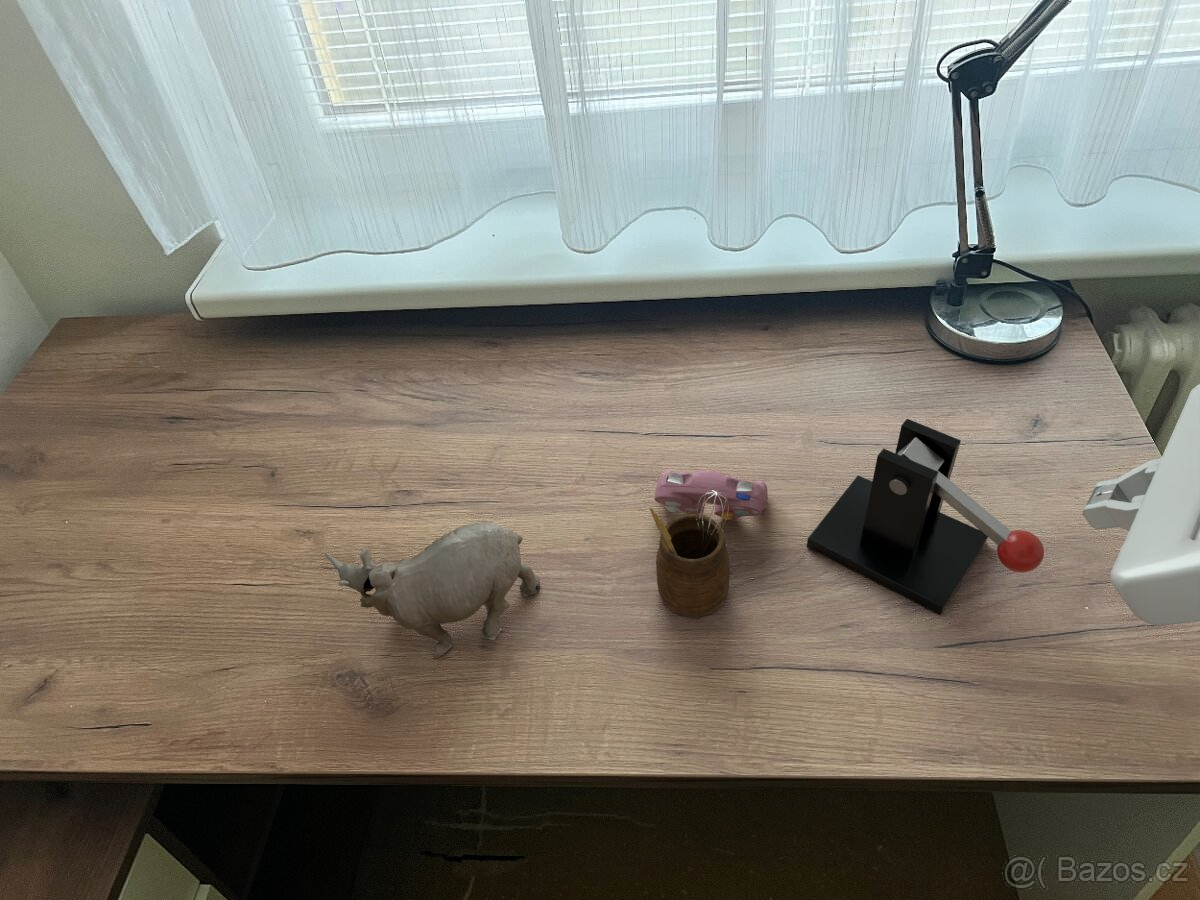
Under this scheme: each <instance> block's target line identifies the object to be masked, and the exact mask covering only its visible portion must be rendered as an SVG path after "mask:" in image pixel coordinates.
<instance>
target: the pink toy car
mask: <svg viewBox="0 0 1200 900" xmlns="http://www.w3.org/2000/svg"><path fill="white" fill-rule="evenodd" d="M708 490H710V491H708ZM711 490H713V491H711ZM717 490H718V491H717ZM707 491H708V492H707ZM714 491H715V492H717V493H718V494H720V495H717V496H716V494H715V495H714V493H715V492H714ZM706 492H707V493H709V494H706ZM720 492H722V493H720ZM723 493H724V494H725V495H726V497H725V495H724V494H723ZM704 494H706V497H705V495H704ZM703 495H704V496H703ZM712 495H713V496H712ZM721 495H722V496H721ZM702 496H703V497H702ZM710 496H711V497H710ZM715 496H716V500H715ZM718 496H719V497H720V498H719V497H718ZM723 496H724V497H725V498H726V499H727V501H728V503H727V501H726V503H725V500H726V499H725V498H724V497H723ZM701 497H702V498H701ZM709 497H710V498H709ZM700 498H701V499H700ZM704 498H705V501H706V500H707V499H708V498H709V499H708V500H707V501H706V502H705V501H704ZM720 499H721V501H722V503H721V501H720ZM699 500H700V502H699ZM714 500H715V505H714V511H713V513H714V515H715V516H717V517H719V518H721V516H722V520H724V521H725V520H726V521H729V520H731V519H739V518H741V517H759V516H761V515H762V514H763V510H764V508H765V507H766V505H768V504H767V503H768V500H769V495H768V486H767V483H766V481H765V480H757V481H752V480H748V479H743V478H740V477H739V478H738V477H733V476H730V475H727V474H724V473H722V472H719V471H716V470H711V469H707V470H698V471H693V472H690V471H689V472H688V471H673V470H671V469H668V470H665V471H664V472H663V473H662V475H660V477H659V479H658V481H657V483H656V487H655V491H654V501H655V502H656V503H658V504H661V505H663V506H665V509H666V510H667V511H668V512H671V513H676V512H679V511H681V512H684V513H686V514H696V513H697V514H700V513H701V514H702V511H701V509H702V506H703V502H704V503H705V504H704V506H703V513H704V511H705V506H706V504H709V505H713V504H714ZM698 504H699V506H698ZM728 504H729V509H728ZM722 505H723V510H724V512H723V515H722V511H723V510H722ZM724 506H725V508H724ZM697 507H698V510H697ZM727 512H728V515H727ZM726 516H727V519H726Z"/></svg>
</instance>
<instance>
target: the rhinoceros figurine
mask: <svg viewBox="0 0 1200 900" xmlns="http://www.w3.org/2000/svg"><path fill="white" fill-rule="evenodd" d="M523 539H524V538H523V537H522V536H521V535H520V534H519V533H518V532H514V531H513V530H512V529H510V528H507V527H505V526H502V525H500V524H497V523H495V522H473V523H468V524H465V525H462V526H459V527H457V528H455V529H454V530H451V531H449V532H448V533H445V534H443V535H442V536H441V537H440V538H437V539H435V540H434V541H433V542H432V543H431V544H430V545H428V546H426V547H425V548H424V550H422V551H420V552H419V553H418V554H417V555H415V556H413V557H405V558H402V559H400V560H399V561H398V562H397V561H396V562H394V563H381V564H379V565H377V564H376V563H375V562H374V560H373V558H372V555H371V552H370V549H369V548H368V547H367V546H366V547H364V548H363V549H362V550H361V552H360V553H359V558H360V560H361V562H362V564H352V563H348V562H346V563H343V562H342V561H340V560H338V559H336V558H334V557H333V556H332V555H330V554H329V553H328V552H324V556H325V557H326V559H327V560H329V561H330V563H331V564H332V566H333V567H334V568H335V569H336V570H337V571H338V575H339V579H340V580H339V581H338V582H337V584H338V585H339V586H340V587H347V588H350V589H351V590H352V589H353V590H355V591H356V592H357V593H360V595H361V598H359V601H360V607H361V608H366V609H370V608H374V609H376V611H377V612H378V613H379V614H380V615H382V616H385V617H391V618H393V619H394V620H395V621H396V622H397V623H398V624H399V625H400V626H401V627H402V628H404V629H405V630H413V631H414V632H416V633H418V634H419V635H422V636H425V637H429V638H431V639H432V640H434V641H436V642H438V643H437V644H436V646H435V649H434V653H433V658H436V659H439V658H440V657H442V656H443V655H445V654H446V653H447V652H448V651H449V650H450V649H451V648H452V647H453V646H454V644H453V643H451V642H452V638H453V637H452V636H451V634H450V633H449V632H448V630H446V629H445V628H443V626H441V625H442V624H447V623H458V622H461V621H464V620H466V619H468V618H470V617H472V616H473V615H474V614H476V613H477V612H478V611H479V610H480V609H481V607H482V606H484V607H485V608H486V613H487V614H486V619H485V620H484V622H483V625H482V626H483V627H482V631H481V632H482V633H481V636H480V639H483V638H484V639H485V640H491V641H495V640H496V638H497V637H499V635H500V632H502V631H503V630H504V628H503V627H501V625H500V622H499V619H500V617H501V615H502V614H503V613H504V612H505V611H506V610H508V609H509V607H510V604H509V602H508V601H507V600H506V598H505V597H506V595H507V594H508V593H509V591H510V590H511V589H512V588H513V586H514V584H515V583H516V581H517V580H518V578H519V579H521V584H520V585H519V587H520V590H521V592H520V593H522V595H523V597H529V596H530V595H531V596H532V595H536V594H538V592H539V590H536V589H537V586H538V587H539V588H541V581H540V577H539V575H537V574H535V573H534V571H533V569H532V568H531V566H530V565H528V564H526V562H524V561H522V558H521V548H520V544H522V542H523V541H524V540H523ZM538 584H539V585H538ZM374 590H375V591H374ZM371 591H374V592H373V593H372V595H371V594H369V593H368V592H371Z"/></svg>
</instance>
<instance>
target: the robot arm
mask: <svg viewBox="0 0 1200 900" xmlns="http://www.w3.org/2000/svg"><path fill="white" fill-rule="evenodd" d="M1082 515H1083V517H1084V519H1085V520H1086V521H1087V523H1088V524H1089V526H1090V527H1091V528H1092V529H1095V530H1107V529H1113V528H1119V529H1122V530H1125V531H1128V533H1127V535H1126V537H1125V539H1124V541H1123V544H1122V546H1121V548H1120V551H1119V553H1118V555H1117V557H1116V559H1115V562H1114V564H1113V566H1112V569H1111V571H1110V574H1109V579H1110V582H1111V583H1112V587H1114V589H1115V591H1116V592H1117V593H1118V596H1120V598H1121V599H1122V601H1123V602H1124V603H1125V605H1126V606H1127V607H1128V609H1129V610H1130V611H1131V613H1132V614H1133V615H1134V616H1135V617H1137V618H1138V619H1140V620H1141V621H1143V622H1145V623H1146V624H1149V625H1151V626H1170V625H1171V626H1172V625H1180V624H1181V625H1182V624H1189V623H1195V622H1196V623H1197V622H1200V383H1198V384H1197V385H1196V386H1194V387H1192V389H1191V390H1190V392H1189V394H1188V397H1187V399H1186V402H1185V404H1184V406H1183V408H1182V411H1181V413H1180V415H1179V417H1178V420H1177V422H1176V424H1175V426H1174V428H1173V431H1172V434H1171V435H1170V437H1169V440H1168V442H1167V444H1166V446H1165V448H1164V452H1163V454H1162V456H1161V457H1160V458H1159V457H1158V458H1154V459H1149V460H1147V461H1146V462H1144V463H1142V464H1140V465H1138V466H1137V467H1135V468H1133V469H1131V470H1129V471H1127V472H1126V473H1124V474H1122V475H1120V477H1116V478H1112V479H1106V480H1102V481H1098V482H1097V483H1096V484H1095V486H1094V488H1093V490H1092V492H1091V494H1090V497H1089V499H1088V500H1087V502H1086V505H1085V506H1084V508H1083V510H1082Z"/></svg>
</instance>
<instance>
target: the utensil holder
mask: <svg viewBox="0 0 1200 900" xmlns="http://www.w3.org/2000/svg"><path fill="white" fill-rule="evenodd" d="M708 491H710V490H708ZM708 491H707V492H708ZM711 491H713V490H711ZM717 491H718V490H717ZM707 492H706V494H709V493H707ZM714 492H715V491H714ZM720 493H722V492H720ZM706 494H704V495H705V497H706ZM715 494H716V496H717V495H720V494H718V493H717V492H715V493H714V495H715ZM723 494H724V493H723ZM704 495H703V496H704ZM724 495H725V494H724ZM703 496H702V497H703ZM712 496H713V495H712ZM716 496H715V500H716ZM721 496H722V495H721ZM702 497H701V498H702ZM710 497H711V496H710ZM710 497H709V498H710ZM718 497H719V496H718ZM723 497H724V496H723ZM725 497H726V495H725ZM725 497H724V498H725ZM701 498H700V499H701ZM709 498H708V499H709ZM719 498H720V497H719ZM708 499H707V500H708ZM725 499H726V498H725ZM707 500H706V501H707ZM715 500H714V504H712V508H711V513H710V516H707V515H703V514H704V512H703V506H704V504H705V505H706V503H704V502H703V506H702V509H701V511H702V513H700V514H697V513H696V514H692V513H685V514H681V515H678V516H676V517H674V518H672V519H670V520H669V521H668V522H666V524H665V523H664V521H663V520H662V518H661V516H660V517H659V515H658V513H657V512H656V511H654V509H653V507H652V506H649V507H648V508H649V510H650V513H651V516H652V518H653V520H654V524H655V525H656V527H657V529H658V531H659V532H660V537H659V540H658V541H659V542H658V548H657V552H656V557H655V568H656V569H655V570H656V585H657V591H658V594H659V597H660V599H661V600H662V603H663V604H664V605H665V606H666V607H667V608H668V609H669V610H670V611H672V612H674V613H675V614H677V615H680V616H683V617H688V618H700V617H705V616H708V615H710V614H712V613H714V612H715V611H717V610H718V609H720V607H721V606H722V605H723V603H724V602H725V601H726V599H727V596H728V593H729V589H730V571H731V570H730V568H731V566H730V565H731V564H730V559H731V558H730V553H729V549H728V547H727V540H726V536H725V532H724V531H723V527H724V525H725V523H726V522H727V520H725V519H724V522H723V525H722V526H721V524H722V520H723V518H722V516H721V517H719V520H718V522H717V521H716V520H714V519H713V518H712V517H713V513H714V510H715ZM704 501H705V498H704ZM706 501H705V502H706ZM720 501H721V499H720ZM726 501H727V499H726V500H725V503H726ZM699 502H700V500H699ZM721 503H722V501H721ZM727 503H728V501H727ZM698 506H699V504H698ZM704 507H705V506H704ZM724 508H725V506H724ZM728 509H729V504H728ZM697 510H698V507H697ZM722 510H723V505H722ZM723 512H724V510H723V511H722V515H723ZM727 515H728V512H727ZM726 519H727V516H726Z"/></svg>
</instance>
